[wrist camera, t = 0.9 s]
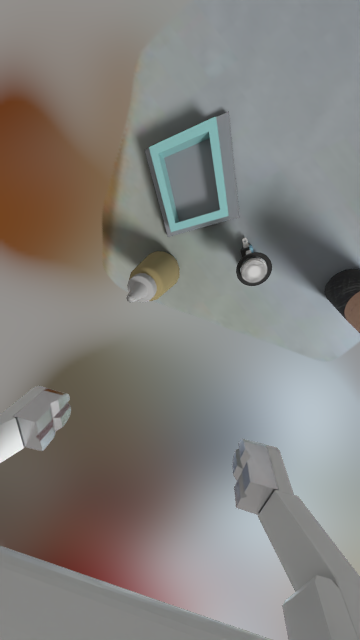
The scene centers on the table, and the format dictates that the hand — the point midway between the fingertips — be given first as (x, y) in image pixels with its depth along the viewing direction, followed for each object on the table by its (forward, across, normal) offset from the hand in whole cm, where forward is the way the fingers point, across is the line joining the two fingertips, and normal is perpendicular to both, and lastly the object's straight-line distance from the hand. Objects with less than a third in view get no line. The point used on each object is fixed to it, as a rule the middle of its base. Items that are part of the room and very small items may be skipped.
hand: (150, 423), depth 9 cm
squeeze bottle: (+37, +8, -1) cm, 38 cm away
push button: (+36, -8, -7) cm, 37 cm away
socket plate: (+34, +4, -17) cm, 39 cm away
